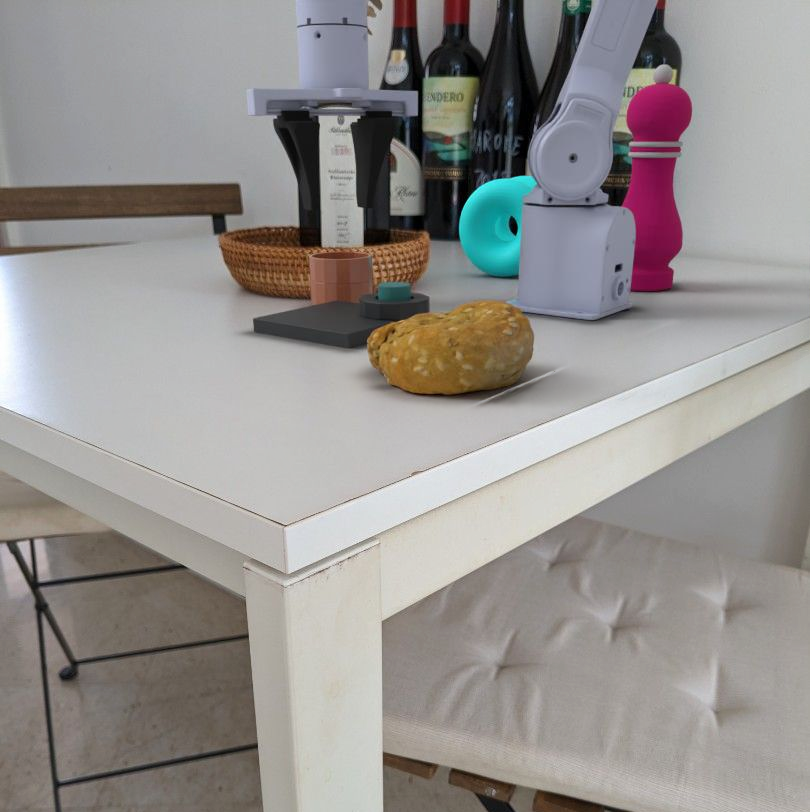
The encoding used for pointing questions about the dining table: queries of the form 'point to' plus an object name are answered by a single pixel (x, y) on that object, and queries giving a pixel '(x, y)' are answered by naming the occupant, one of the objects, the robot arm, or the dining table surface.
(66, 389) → the dining table surface
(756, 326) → the dining table surface
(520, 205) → the donuts
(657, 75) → the pepper mill
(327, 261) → the cup
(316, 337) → the scale
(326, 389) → the dining table surface
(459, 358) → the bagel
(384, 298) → the button
